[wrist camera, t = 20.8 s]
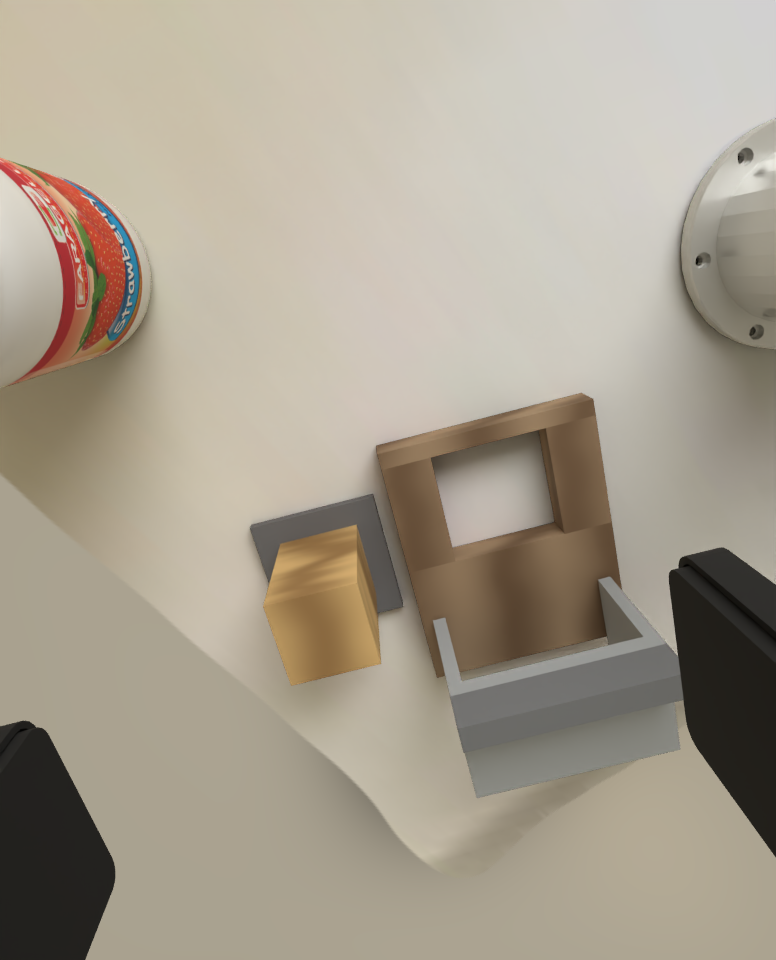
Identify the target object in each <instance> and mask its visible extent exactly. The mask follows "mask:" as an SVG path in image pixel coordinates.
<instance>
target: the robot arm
mask: <svg viewBox="0 0 776 960" xmlns="http://www.w3.org/2000/svg"><path fill="white" fill-rule="evenodd" d="M738 156H739V157H740V161H739V162H738V159H737V158H738ZM697 257H698V259H699V262H698V264H697V265H696V263H695V262H696V258H697ZM681 259H682V272H683V276H684V280H685V284H686V288H687V291H688V293H689V295H690V297H691V299H692V301H693V304H694V306H695V308H696V309H697V310H698V312H699V313H700V314H701V315H702V317H703V318H704V319H705V321H706V322H707V323H708V324H709V325H711V326H712V327H713V328H714V329H715V330H717V331H718V332H719V333H720V334H722V335H724V336H726V337H728V338H730V339H732V340H734V341H736V342H738V343H742V344H746V345H750V346H754V347H760V348H767V349H776V118H775V119H772V120H770V121H768V122H766V123H764V124H762V125H760V126H758V127H756V128H754V129H752V130H750V131H749V132H748V133H746V134H745V135H744V136H742V137H741V138H740V139H738V140H737V141H735V142H734V143H733V144H732V145H731V146H730V147H729V148H728V149H727V150H726V151H725V152H724V153H723V154H722V155H721V156H720V157H719V158H718V159H717V160H716V161H715V162H714V164H713V165H712V167H711V168H710V169H709V171H708V172H707V174H706V175H705V177H704V178H703V179H702V181H701V183H700V185H699V187H698V189H697V191H696V193H695V195H694V197H693V199H692V201H691V203H690V207H689V210H688V213H687V217H686V220H685V223H684V228H683V236H682V244H681ZM750 329H751V332H750ZM749 333H750V334H749ZM669 585H670V594H671V602H672V610H673V618H674V626H675V634H676V642H677V650H678V658H679V667H680V675H681V683H682V691H683V699H684V707H685V715H686V722H687V726H688V730H689V732H690V735H691V738H692V740H693V742H694V743H695V745H696V747H697V749H698V750H699V752H700V753H701V754H702V755H703V757H704V759H705V760H706V761H707V763H708V764H709V766H710V767H711V768H712V770H713V771H714V772H715V774H716V775H717V777H718V778H719V779H720V781H721V782H722V784H723V785H724V786H725V788H726V789H727V790H728V792H729V793H730V795H731V796H732V797H733V799H734V800H735V801H736V803H737V804H738V806H739V807H740V808H741V810H742V811H743V813H744V814H745V815H746V816H747V818H748V819H749V821H750V822H751V824H752V825H753V826H754V828H755V829H756V831H757V832H758V833H759V835H760V836H761V837H762V839H763V840H764V841H765V843H766V844H767V846H768V847H769V849H770V850H771V851H772V853H773V854H774V855H775V857H776V585H775V584H774V583H772V582H771V581H770V580H768V579H767V578H766V577H764V576H763V575H761V574H760V573H759V572H757V571H756V570H755V569H753V568H752V567H751V566H749V565H748V564H747V563H745V562H744V561H743V560H741V559H740V558H738V557H737V556H736V555H734V554H733V553H732V552H730V551H729V550H727V549H725V548H716V549H712V550H708V551H704V552H700V553H696V554H692V555H688V556H684V557H682V558H681V559H680V561H679V569H674V570H671V571H670V573H669ZM114 883H115V866H114V862H113V859H112V857H111V855H110V853H109V851H108V849H107V847H106V845H105V843H104V841H103V839H102V837H101V835H100V833H99V831H98V830H97V828H96V826H95V824H94V822H93V820H92V818H91V816H90V814H89V812H88V810H87V809H86V807H85V804H84V802H83V800H82V799H81V797H80V795H79V793H78V791H77V789H76V787H75V785H74V783H73V781H72V779H71V777H70V776H69V773H68V771H67V770H66V768H65V766H64V764H63V762H62V760H61V758H60V756H59V754H58V752H57V750H56V748H55V746H54V744H53V742H52V741H51V739H50V737H49V735H48V733H47V732H46V731H45V730H44V729H42V728H36V727H35V725H34V724H32V723H30V722H29V721H20V722H17V723H12V724H9V725H5V726H0V960H85V959H86V956H87V953H88V951H89V949H90V946H91V943H92V941H93V938H94V936H95V933H96V931H97V928H98V925H99V923H100V921H101V918H102V915H103V913H104V910H105V908H106V905H107V903H108V900H109V898H110V895H111V892H112V890H113V887H114Z"/></svg>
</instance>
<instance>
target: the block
mask: <svg viewBox="0 0 776 960" xmlns="http://www.w3.org/2000/svg"><path fill="white" fill-rule="evenodd" d="M263 607H264V610H265V613H266V616H267V619H268V621H269V624H270V627H271V630H272V633H273V636H274V638H275V641H276V644H277V647H278V650H279V652H280V655H281V658H282V661H283V664H284V667H285V669H286V672H287V675H288V678H289V681H290V684H291V686H292V685H296V684H300V683H304V682H308V681H313V680H317V679H321V678H325V677H329V676H333V675H337V674H341V673H345V672H349V671H353V670H357V669H361V668H365V667H370V666H374V665H378V664H381V657H380V643H379V628H378V613H377V598H376V591H375V587H374V584H373V580H372V577H371V573H370V570H369V566H368V563H367V559H366V556H365V552H364V549H363V545H362V542H361V538H360V535H359V531H358V528H357V525H353V526H349V527H345V528H341V529H337V530H333V531H329V532H325V533H321V534H317V535H313V536H309V537H305V538H301V539H297V540H294V541H290V542H286V543H282V544H280V547H279V551H278V554H277V558H276V562H275V565H274V569H273V572H272V576H271V580H270V583H269V587H268V591H267V594H266V598H265V602H264V605H263Z"/></svg>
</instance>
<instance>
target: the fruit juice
mask: <svg viewBox="0 0 776 960" xmlns="http://www.w3.org/2000/svg"><path fill="white" fill-rule="evenodd" d="M150 295H151V270H150V265H149V260H148V257H147V253H146V251H145V248H144V245H143V243H142V241H141V239H140V237H139V235H138V233H137V232H136V230H135V229H134V227H133V226H132V224H131V223H130V222H129V220H128V219H127V218H126V217H125V216H124V214H123V213H122V212H121V211H120V210H119V209H118V208H116V207H115V206H114V205H113V204H112V203H111V202H109V201H108V200H107V199H105V198H104V197H102V196H101V195H99V194H98V193H96V192H95V191H93V190H91V189H89V188H87V187H85V186H83V185H80V184H78V183H75V182H72V181H69V180H66V179H63V178H60V177H57V176H54V175H51V174H48V173H45V172H42V171H39V170H36V169H33V168H30V167H27V166H23V165H20V164H17V163H14V162H11V161H8V160H5V159H2V158H0V389H1V388H3V387H6V386H9V385H12V384H15V383H19V382H22V381H25V380H28V379H31V378H34V377H38V376H41V375H44V374H47V373H50V372H53V371H56V370H59V369H62V368H66V367H69V366H72V365H75V364H78V363H81V362H84V361H87V360H90V359H94V358H97V357H100V356H102V355H105V354H107V353H109V352H111V351H113V350H114V349H116V348H117V347H119V346H120V345H121V344H123V343H124V342H125V341H126V340H127V339H128V338H130V337H131V335H132V334H133V333H134V332H135V331H136V329H137V328H138V327H139V325H140V324H141V322H142V320H143V318H144V316H145V314H146V311H147V308H148V305H149V301H150Z"/></svg>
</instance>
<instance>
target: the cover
mask: <svg viewBox="0 0 776 960" xmlns="http://www.w3.org/2000/svg"><path fill="white" fill-rule="evenodd" d="M598 584H599V590H600V596H601V602H602V608H603V614H604V621H605V627H606V633H607V639H608V646H604V647H600V648H595V649H591V650H587V651H583V652H579V653H575V654H571V655H567V656H563V657H559V658H555V659H551V660H547V661H542V662H538V663H534V664H530V665H526V666H522V667H518V668H514V669H510V670H506V671H502V672H498V673H493V674H489V675H485V676H481V677H477V678H473V679H469V680H465V681H462V680H461V676H460V672H459V669H458V665H457V661H456V657H455V653H454V650H453V646H452V642H451V638H450V634H449V631H448V627H447V623H446V619H445V618H441V619H437V620H433V623H434V627H435V632H436V636H437V641H438V645H439V650H440V654H441V658H442V663H443V667H444V672H445V676H446V680H447V685H448V689H449V694H450V698H451V703H452V707H453V711H454V716H455V720H456V725H457V729H458V733H459V737H460V740H461V744H462V748H463V752H464V753H465V755H466V759H467V763H468V766H469V770H470V774H471V778H472V782H473V785H474V789H475V793H476V797H477V798H480V797H484V796H488V795H492V794H496V793H501V792H505V791H509V790H513V789H517V788H521V787H526V786H530V785H534V784H538V783H542V782H547V781H551V780H555V779H559V778H563V777H567V776H572V775H576V774H580V773H584V772H588V771H593V770H597V769H601V768H605V767H609V766H613V765H618V764H622V763H626V762H630V761H634V760H638V759H643V758H647V757H651V756H655V755H659V754H664V753H668V752H672V751H676V750H680V742H679V735H678V727H677V719H676V711H675V703H674V702H677V701H681V700H684V699H683V691H682V683H681V675H680V667H679V658H678V656H677V655H676V654H675V653H674V651H673V650H672V649H671V648H670V647H669V645H668V644H667V643H666V642H665V641H664V640H663V638H662V637H661V636H660V635H659V634H658V632H657V631H656V630H655V629H654V628H653V627H652V625H651V624H650V623H649V622H648V621H647V619H646V618H645V617H644V616H643V615H642V614H641V612H640V611H639V610H638V609H637V608H636V606H635V605H634V604H633V603H632V602H631V601H630V599H629V598H628V597H627V596H626V595H625V593H624V592H623V591H622V590H621V589H620V588H619V586H618V585H617V584H616V583H615V582H614V580H613V579H612V578H611V577H606V578H602V579H598Z"/></svg>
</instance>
